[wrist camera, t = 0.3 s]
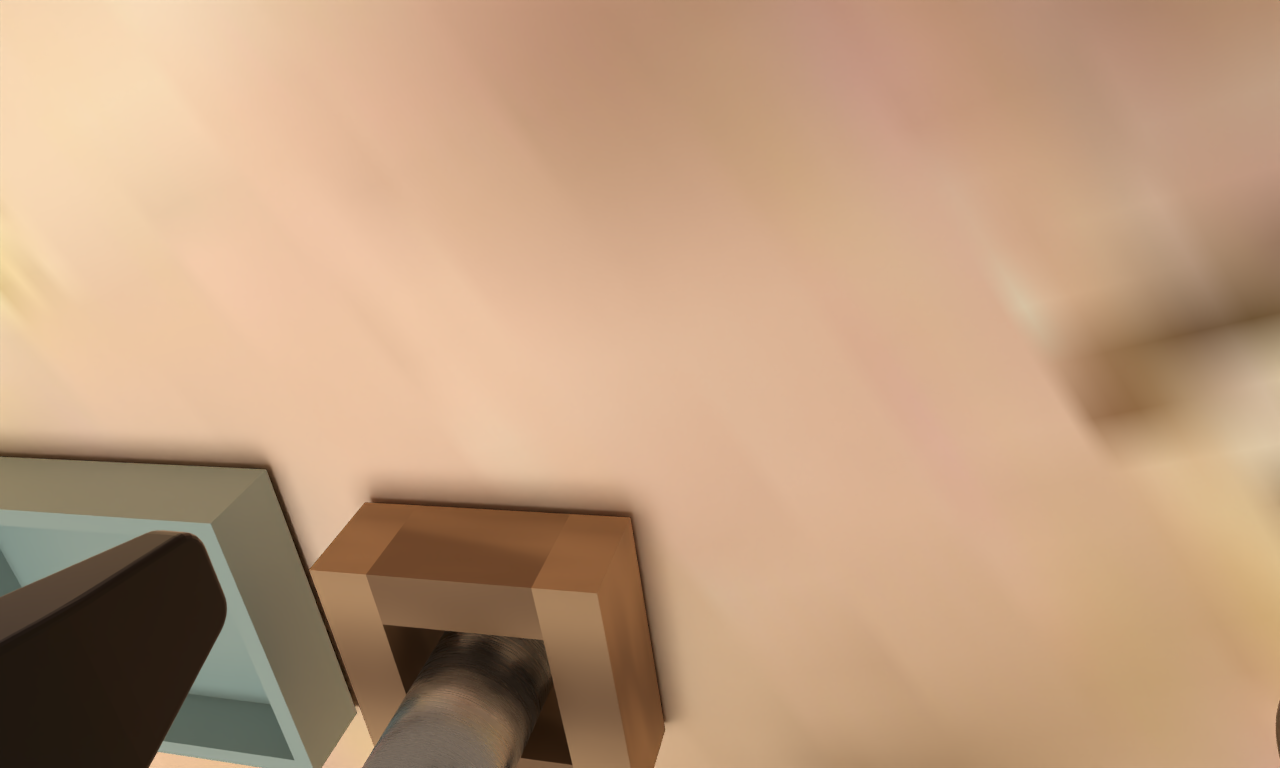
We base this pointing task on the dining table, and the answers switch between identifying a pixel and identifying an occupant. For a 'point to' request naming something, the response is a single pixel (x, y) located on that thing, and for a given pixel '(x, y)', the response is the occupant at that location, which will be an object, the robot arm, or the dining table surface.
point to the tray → (247, 571)
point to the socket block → (501, 617)
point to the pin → (468, 705)
